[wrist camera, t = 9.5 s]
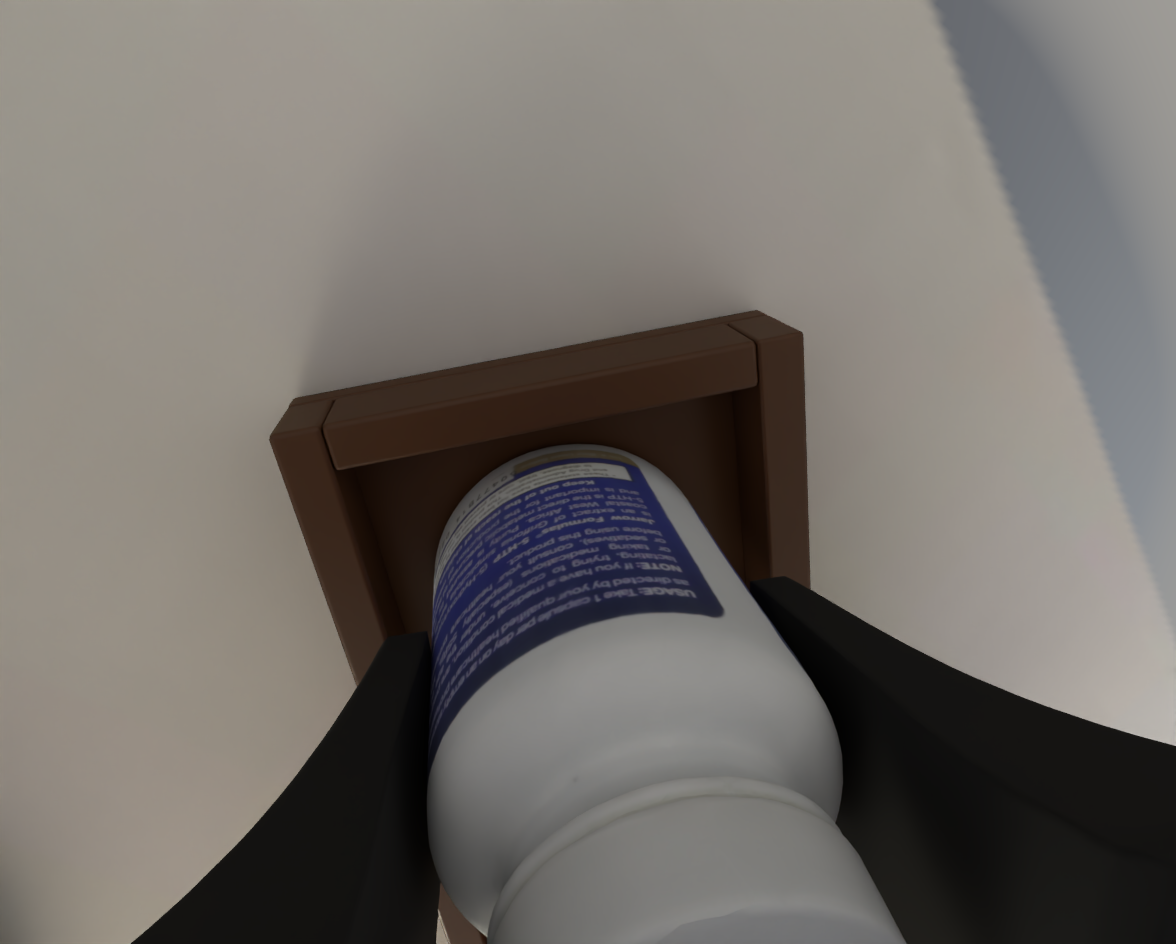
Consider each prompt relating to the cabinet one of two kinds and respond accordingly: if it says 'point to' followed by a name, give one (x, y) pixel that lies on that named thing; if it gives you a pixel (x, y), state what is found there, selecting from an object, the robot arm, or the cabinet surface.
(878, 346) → the cabinet surface
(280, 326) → the cabinet surface
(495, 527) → the pill bottle
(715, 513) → the tray
